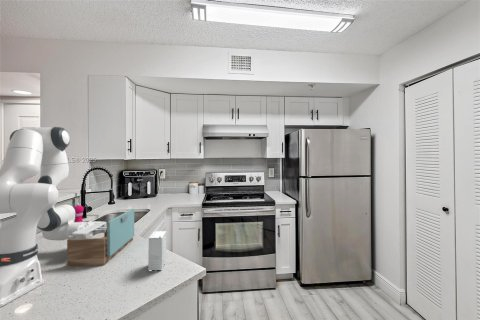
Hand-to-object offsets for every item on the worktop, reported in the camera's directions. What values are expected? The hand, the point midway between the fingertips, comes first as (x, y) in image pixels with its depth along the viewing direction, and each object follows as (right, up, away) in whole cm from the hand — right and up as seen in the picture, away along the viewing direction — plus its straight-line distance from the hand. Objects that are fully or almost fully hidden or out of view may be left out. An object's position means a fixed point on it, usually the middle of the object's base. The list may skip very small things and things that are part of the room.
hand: (106, 230), depth 117 cm
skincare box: (+33, -11, -18) cm, 39 cm away
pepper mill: (-35, -11, +28) cm, 46 cm away
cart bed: (-1, -11, 0) cm, 11 cm away
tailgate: (+8, -8, +1) cm, 11 cm away
